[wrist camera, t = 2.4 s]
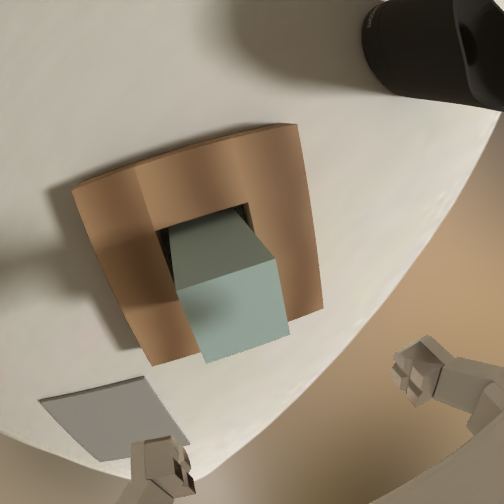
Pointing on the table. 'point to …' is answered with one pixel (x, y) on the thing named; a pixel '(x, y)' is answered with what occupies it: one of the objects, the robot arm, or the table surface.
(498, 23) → the pen holder
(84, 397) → the rubber mat
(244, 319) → the square plug
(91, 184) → the plug dock
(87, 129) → the table surface
